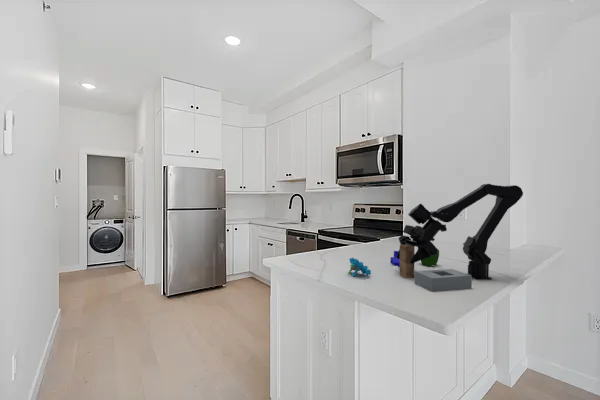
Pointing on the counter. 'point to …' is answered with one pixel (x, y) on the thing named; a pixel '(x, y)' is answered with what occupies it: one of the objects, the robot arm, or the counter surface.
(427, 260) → the bell pepper
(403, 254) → the walnut peg
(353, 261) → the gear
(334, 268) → the counter surface
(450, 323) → the counter surface
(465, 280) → the grey socket block
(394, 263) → the blue stepped arch
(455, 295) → the counter surface
